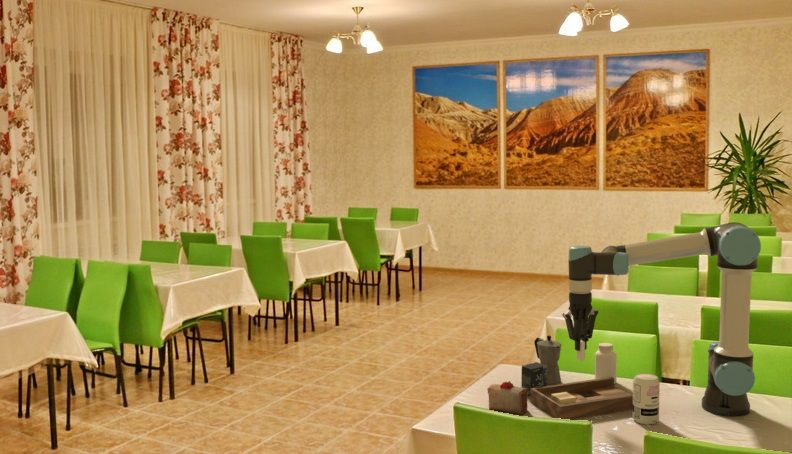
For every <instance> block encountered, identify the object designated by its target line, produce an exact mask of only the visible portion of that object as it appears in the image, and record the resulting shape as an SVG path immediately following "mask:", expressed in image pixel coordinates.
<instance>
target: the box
mask: <svg viewBox="0 0 792 454" xmlns="http://www.w3.org/2000/svg"><path fill="white" fill-rule="evenodd" d="M544 386H548V385H547V365H544V364H541V363H540V362H537V361H536V362H532V363H527V364H522V365H521V388H527V397H528V396H529V397H531V388H537V387H544Z"/></svg>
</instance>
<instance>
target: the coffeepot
mask: <svg viewBox="0 0 792 454" xmlns="http://www.w3.org/2000/svg"><path fill="white" fill-rule="evenodd" d="M546 338H547V339H545V340H544V339H543V338H540V337H536V338H535V340H534V347H535V352H536V356H537V359H539V363H541V364H544V365H547V386H551V385H558V384H561V382H562V378H561V377H562V376H561V372H560V365H559V364H558V363H559V361H560V357H561V351H562V343H561V342H560V341H558V340H557V341H556V340H552V336H551V335H546Z"/></svg>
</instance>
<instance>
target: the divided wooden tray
mask: <svg viewBox="0 0 792 454" xmlns="http://www.w3.org/2000/svg"><path fill="white" fill-rule="evenodd" d="M562 392H567V393H569V394H571V395H573V396H574V397H576V403H570V404H563V405H560V404H559V403H557V402H555V401H554V400H552V399H551V394H555V393H562ZM530 403H531V404H532V405H535V406H536V407H537V408H539V409H541V410H542V411H544V412H545V413H547V414H548V415H550V416H552V417H553V418H554V419H556V418H561V419H572V420H577V419H583V418H591V417H597V416H602V415H608V414H615V413H621V412H627V411H633V393H629V392H627V391H625V390H623V389H622V388H620V387H617V386H616V385H615V384H614V378H613V377H607V378H600V379H595V378H594V379H588V380H580V381H575V382H573V381H572V382H566V383H558V384H553V385H547V386H544V387H537V388H531V396H530Z"/></svg>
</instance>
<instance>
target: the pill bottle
mask: <svg viewBox="0 0 792 454" xmlns="http://www.w3.org/2000/svg"><path fill="white" fill-rule="evenodd" d="M597 348H598V350H597V351H596V352H595V354H594V379H600V378H607V377H613V378H614V385H616V384H617V376H618V375H617V373H618V372H617V371H618V369H617V365H618V363H617V361H618V360H617V357H618V355H617V353H616V352H615V351H614V345H613V343H610V342H601V343H598V347H597Z"/></svg>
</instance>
